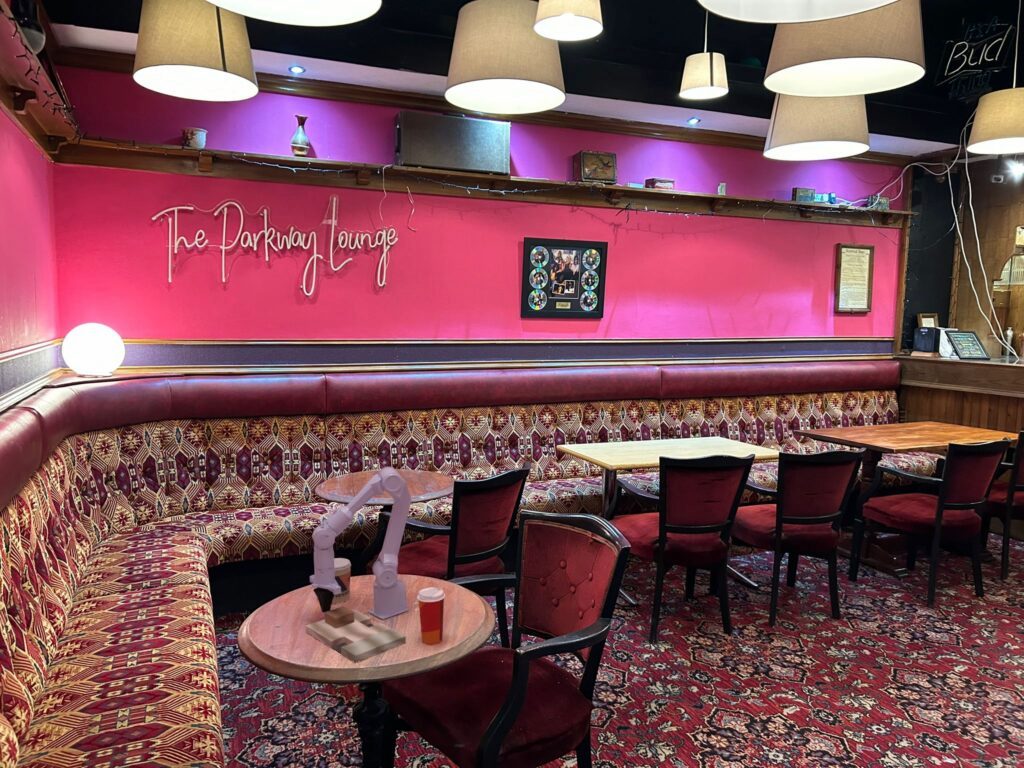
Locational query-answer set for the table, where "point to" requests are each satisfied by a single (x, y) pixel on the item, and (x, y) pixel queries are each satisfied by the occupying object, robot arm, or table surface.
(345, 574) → the coffee cup
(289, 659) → the table surface
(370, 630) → the board
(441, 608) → the paper cup
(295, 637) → the table surface
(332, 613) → the walnut block
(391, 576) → the robot arm
